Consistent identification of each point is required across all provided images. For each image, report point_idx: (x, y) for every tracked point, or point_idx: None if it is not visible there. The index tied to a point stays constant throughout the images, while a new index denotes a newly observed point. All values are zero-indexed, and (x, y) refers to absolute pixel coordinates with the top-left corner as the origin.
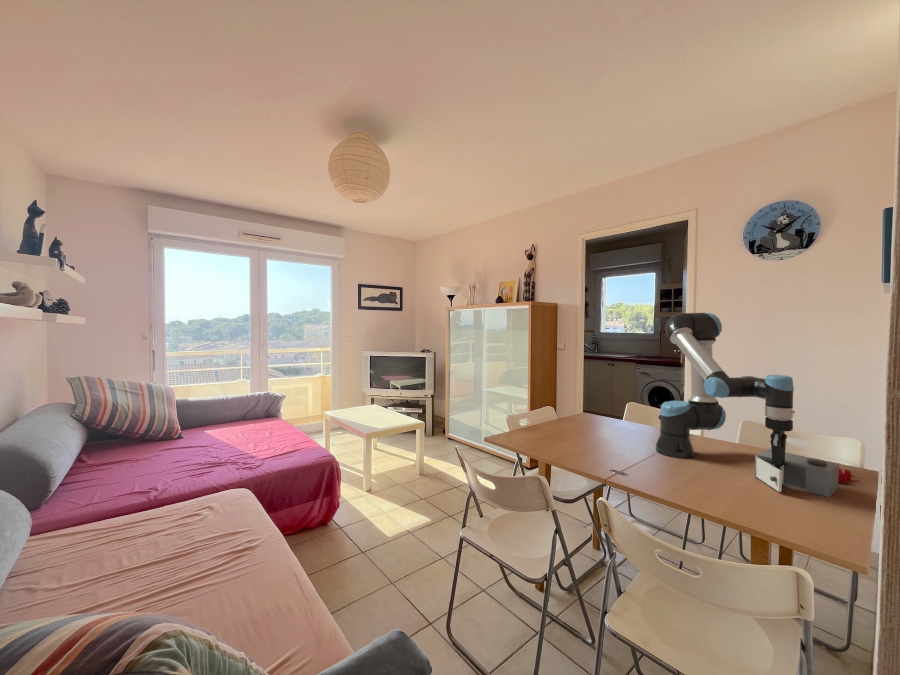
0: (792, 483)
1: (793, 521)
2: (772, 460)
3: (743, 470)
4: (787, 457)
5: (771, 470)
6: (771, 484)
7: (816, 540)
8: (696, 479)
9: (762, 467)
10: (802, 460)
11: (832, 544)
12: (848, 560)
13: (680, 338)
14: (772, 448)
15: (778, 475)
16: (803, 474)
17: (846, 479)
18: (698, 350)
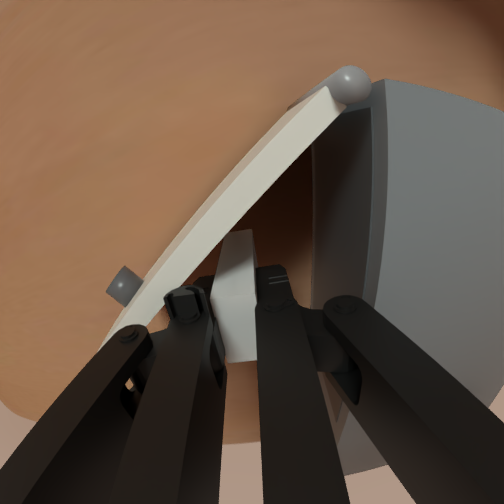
0: (314, 295)
1: (12, 351)
2: (96, 359)
3: (373, 29)
4: (484, 309)
5: (143, 285)
6: (171, 242)
7: (3, 382)
8: (17, 17)
9: (234, 173)
10: (459, 379)
11: (17, 398)
12: (7, 406)
13: None
14: (5, 482)
15: (107, 335)
16: (328, 381)
17: None
18: None
